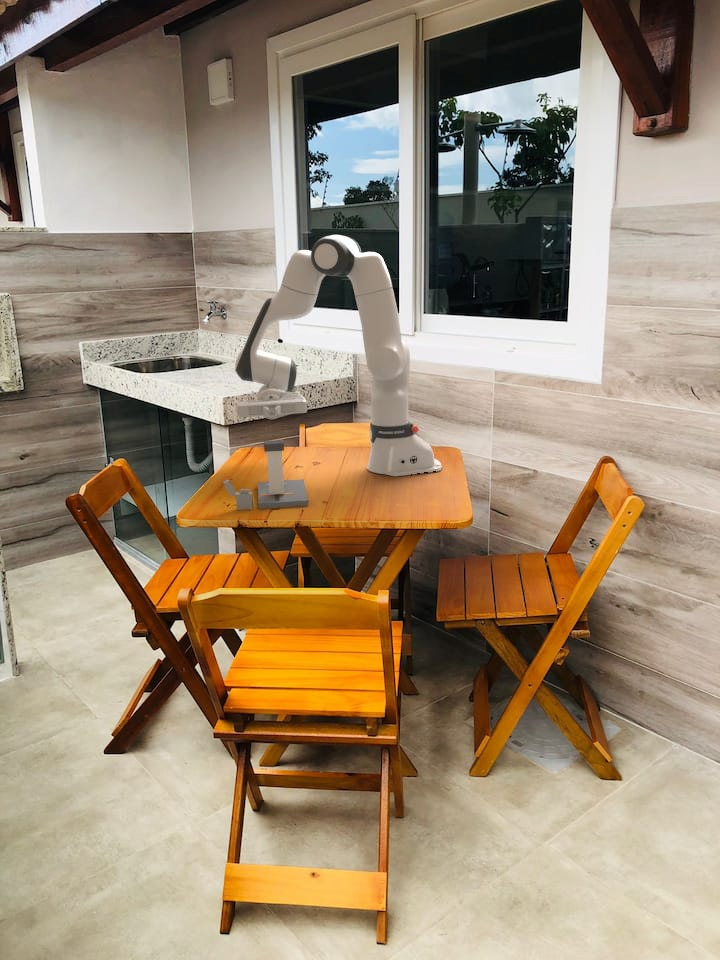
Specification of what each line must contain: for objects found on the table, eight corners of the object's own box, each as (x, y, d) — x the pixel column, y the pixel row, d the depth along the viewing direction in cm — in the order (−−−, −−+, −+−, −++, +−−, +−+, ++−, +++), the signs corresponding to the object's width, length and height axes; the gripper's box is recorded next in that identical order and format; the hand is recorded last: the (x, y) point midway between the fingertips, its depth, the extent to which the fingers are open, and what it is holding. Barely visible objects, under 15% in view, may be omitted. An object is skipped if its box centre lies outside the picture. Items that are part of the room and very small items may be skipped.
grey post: (286, 490, 215) (283, 440, 211) (286, 493, 212) (283, 443, 208) (267, 491, 215) (263, 441, 211) (267, 495, 211) (263, 444, 207)
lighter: (253, 507, 208) (251, 478, 206) (252, 509, 206) (250, 480, 204) (226, 508, 208) (223, 479, 205) (225, 510, 206) (223, 481, 204)
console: (304, 484, 227) (303, 478, 226) (308, 505, 208) (308, 500, 207) (258, 487, 225) (258, 481, 225) (258, 509, 206) (258, 503, 206)
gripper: (235, 395, 234) (234, 404, 220) (304, 390, 236) (307, 398, 223) (237, 416, 235) (236, 426, 222) (305, 411, 238) (308, 420, 224)
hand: (272, 412), depth 222 cm, fingers closed
